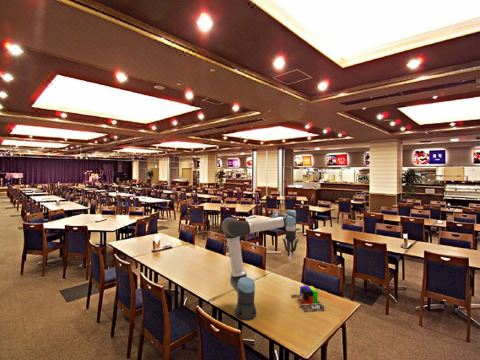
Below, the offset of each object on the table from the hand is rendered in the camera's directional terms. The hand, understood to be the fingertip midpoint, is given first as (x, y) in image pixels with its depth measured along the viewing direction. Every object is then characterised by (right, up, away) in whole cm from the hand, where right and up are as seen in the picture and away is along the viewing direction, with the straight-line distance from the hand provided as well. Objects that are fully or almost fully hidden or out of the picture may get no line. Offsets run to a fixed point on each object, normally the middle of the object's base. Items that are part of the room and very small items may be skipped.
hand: (290, 260), depth 201 cm
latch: (+14, -30, -18) cm, 38 cm away
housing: (+12, -31, -9) cm, 34 cm away
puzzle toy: (+13, -31, -5) cm, 34 cm away
